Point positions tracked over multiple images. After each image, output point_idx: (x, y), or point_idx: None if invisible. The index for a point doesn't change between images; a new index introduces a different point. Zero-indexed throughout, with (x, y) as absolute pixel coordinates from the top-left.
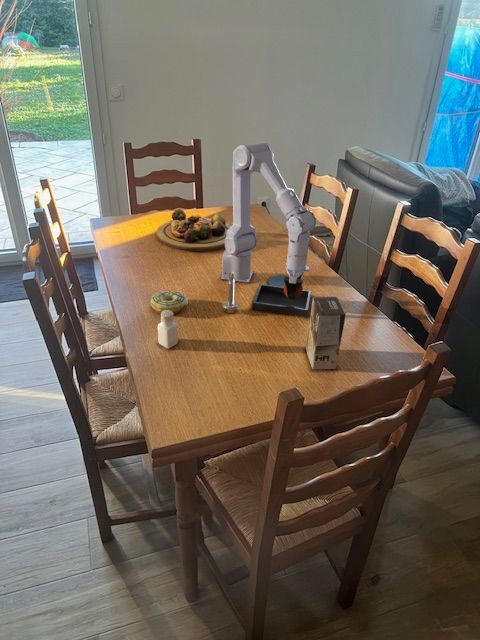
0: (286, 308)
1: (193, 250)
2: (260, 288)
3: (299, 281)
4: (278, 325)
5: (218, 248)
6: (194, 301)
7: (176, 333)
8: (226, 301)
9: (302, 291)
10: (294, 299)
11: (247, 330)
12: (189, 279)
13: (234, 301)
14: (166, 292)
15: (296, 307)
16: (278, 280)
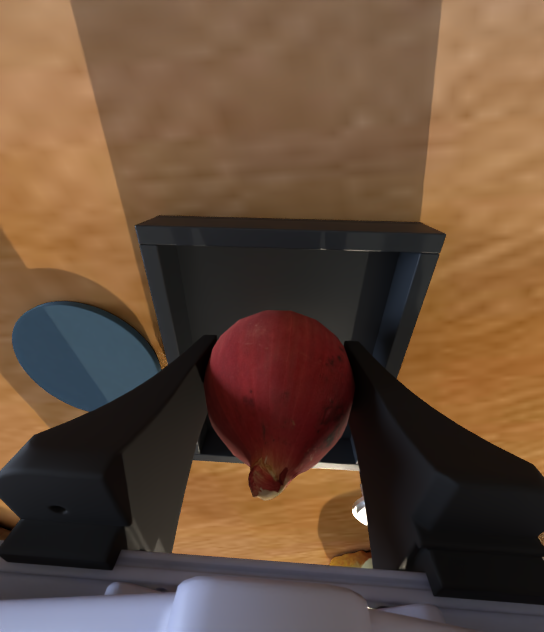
0: (401, 354)
1: None
2: (232, 456)
3: (517, 519)
4: (494, 354)
5: (1, 528)
6: (330, 538)
7: None
8: (365, 522)
9: (292, 318)
10: (359, 342)
11: (514, 442)
12: (216, 550)
13: (362, 509)
14: None
15: (322, 291)
16: (82, 384)
